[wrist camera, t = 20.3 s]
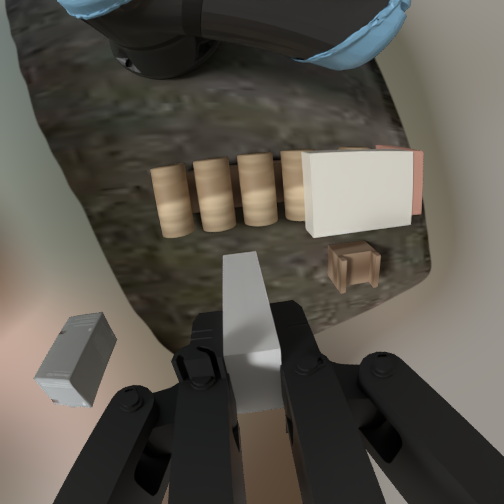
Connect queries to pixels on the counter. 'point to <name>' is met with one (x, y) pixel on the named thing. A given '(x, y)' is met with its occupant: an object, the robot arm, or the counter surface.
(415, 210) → the block
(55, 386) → the skincare box
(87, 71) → the counter surface
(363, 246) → the pedestal
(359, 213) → the slab
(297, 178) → the roller bed
